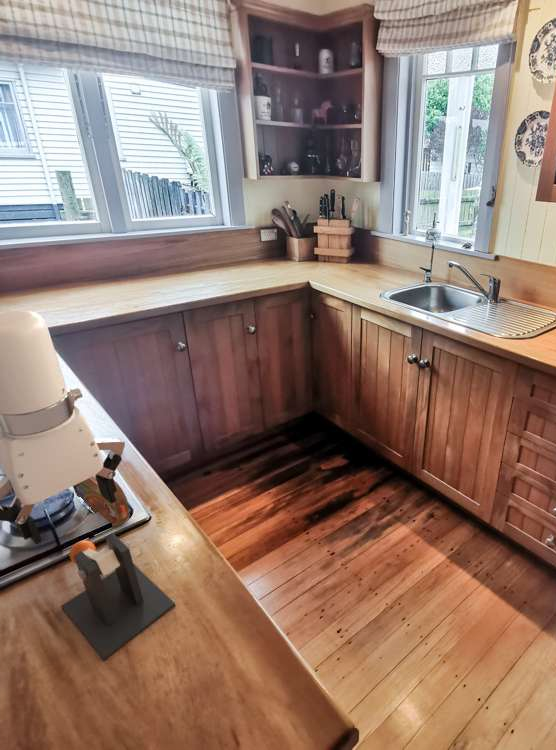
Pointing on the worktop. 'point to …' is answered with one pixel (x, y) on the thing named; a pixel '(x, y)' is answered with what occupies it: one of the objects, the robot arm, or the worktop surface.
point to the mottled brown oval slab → (103, 501)
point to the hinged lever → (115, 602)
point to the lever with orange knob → (96, 556)
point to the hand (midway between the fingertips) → (73, 517)
